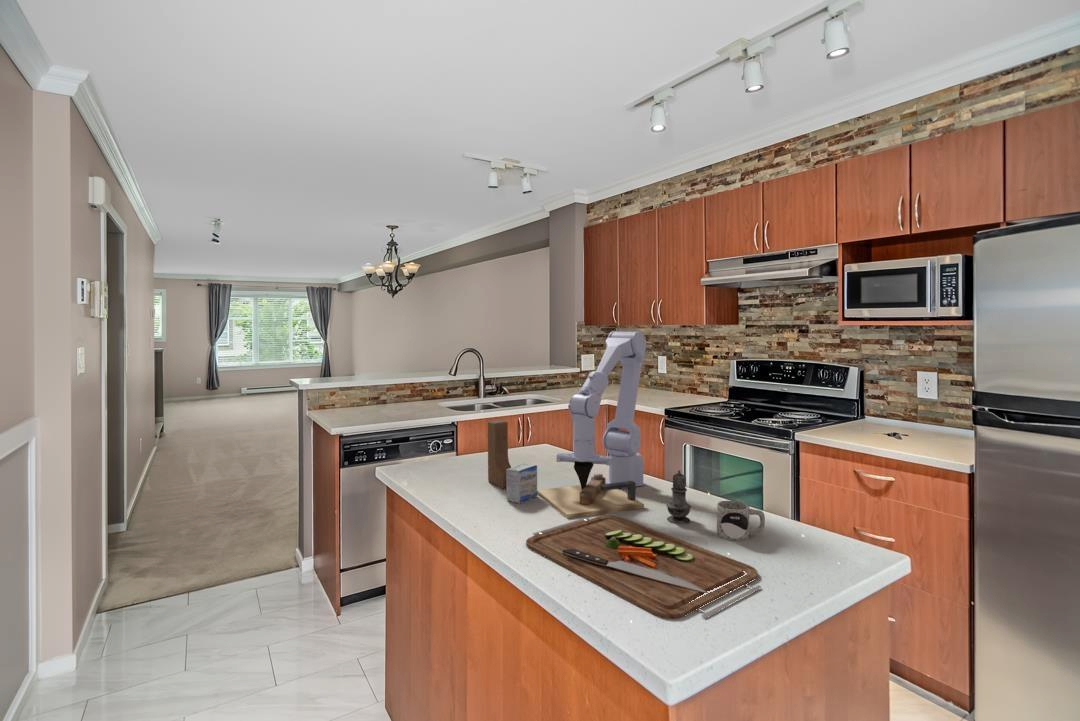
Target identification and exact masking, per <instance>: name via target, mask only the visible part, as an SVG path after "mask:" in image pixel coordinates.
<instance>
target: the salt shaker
mask: <svg viewBox="0 0 1080 721" xmlns="http://www.w3.org/2000/svg"><path fill="white" fill-rule="evenodd" d="M670 490H671V492H672V494H671V495H672V496H671V501H669V502H666V504H665V505H666V508H667V512H668V514H670V516H668V517H667V518H666V519H667V521H668V523H669V522H670V523H671V524H674V525H675V524H676V525H686V524H689V523H690V522H691V519H690V518H689V517H688V515H689V514H690V513H691V509H692V508H693V506H692V504H691V503H689V502H687V498H686V496H687V494H686V493H687V491H688V489H687V488H686V476H685V475H684V474H683V473H681V470H680V469H679V470H678V471H677V473H675V474H674V475H673V476H672V487H671V489H670Z"/></svg>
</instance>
